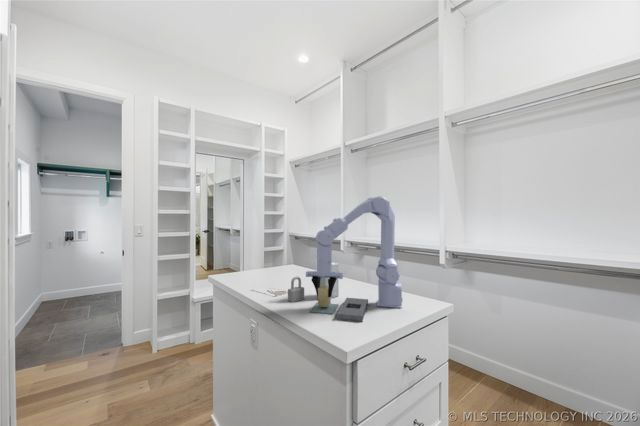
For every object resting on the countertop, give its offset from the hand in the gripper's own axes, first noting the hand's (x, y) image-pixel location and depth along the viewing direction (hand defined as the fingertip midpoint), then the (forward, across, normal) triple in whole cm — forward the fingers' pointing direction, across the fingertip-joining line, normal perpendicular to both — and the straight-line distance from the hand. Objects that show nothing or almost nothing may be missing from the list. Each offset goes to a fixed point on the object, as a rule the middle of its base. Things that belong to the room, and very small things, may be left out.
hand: (324, 296), depth 111 cm
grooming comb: (+5, -32, +18) cm, 37 cm away
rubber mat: (+5, 0, 0) cm, 5 cm away
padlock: (+5, -14, +8) cm, 17 cm away
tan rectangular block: (+3, 0, 0) cm, 3 cm away
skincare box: (+5, -2, +16) cm, 17 cm away
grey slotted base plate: (+5, +12, 0) cm, 12 cm away
